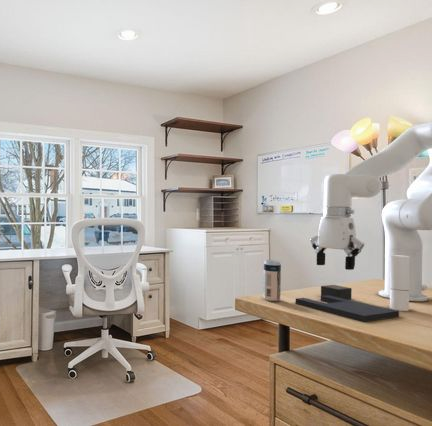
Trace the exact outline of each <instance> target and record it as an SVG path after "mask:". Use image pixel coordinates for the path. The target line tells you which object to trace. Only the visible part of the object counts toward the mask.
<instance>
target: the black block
mask: <svg viewBox="0 0 432 426" xmlns="http://www.w3.org/2000/svg"><path fill="white" fill-rule="evenodd" d="M352 291H353V289H352V287H348V286H344V285H343V286H342V285H336V284H327V285H321V286H320V297H321V296H325V295H330V296H334V297H339V298H343V299H348V300H352Z"/></svg>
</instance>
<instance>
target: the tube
mask: <svg viewBox="0 0 432 426" xmlns="http://www.w3.org/2000/svg"><path fill="white" fill-rule="evenodd" d="M389 309H393V310H397V311H399V312H408V311H409V310H410V301H409V256H403V255H390V298H389Z"/></svg>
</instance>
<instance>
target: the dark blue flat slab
mask: <svg viewBox="0 0 432 426" xmlns="http://www.w3.org/2000/svg"><path fill="white" fill-rule="evenodd" d="M295 305H299V306H302V307H307V308H311V309H314V310H318V311H322V312H326V313H328V314H332V315H337V316H340V317H344V318H348V319H352V320H356V321H359V322H363V323H366V322H373V321H381V320H386V319H391V318H392V319H393V318H398V317H400V311H399V310H394V309H391V308H388V307H384V306H378V305H374V304H369V303H365V302H360V301H356V300H352V299H350V300H348V299H343V298H339V297H334V296H330V295H325V296H321V295H320V301H318V300H315V299H311V298H306V297H298V298H295Z"/></svg>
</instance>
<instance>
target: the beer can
mask: <svg viewBox="0 0 432 426" xmlns="http://www.w3.org/2000/svg"><path fill="white" fill-rule="evenodd" d="M281 270H282V264H281V261H280V260H277V259H276V260H275V259H266V260H264V263H263V291H262V293H263V295H262V297H263V299H264V300H266V301H268V302H278V301H280V300H281V288H282V287H281V284H282V283H281V279H282V271H281Z"/></svg>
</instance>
